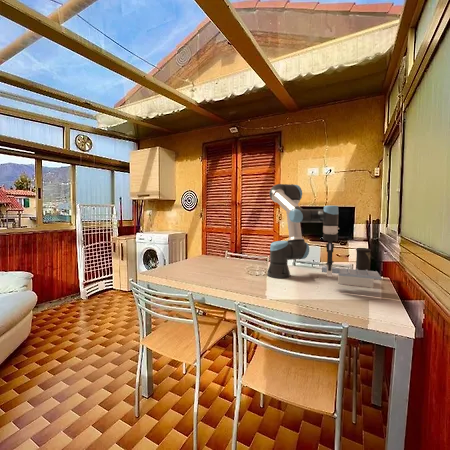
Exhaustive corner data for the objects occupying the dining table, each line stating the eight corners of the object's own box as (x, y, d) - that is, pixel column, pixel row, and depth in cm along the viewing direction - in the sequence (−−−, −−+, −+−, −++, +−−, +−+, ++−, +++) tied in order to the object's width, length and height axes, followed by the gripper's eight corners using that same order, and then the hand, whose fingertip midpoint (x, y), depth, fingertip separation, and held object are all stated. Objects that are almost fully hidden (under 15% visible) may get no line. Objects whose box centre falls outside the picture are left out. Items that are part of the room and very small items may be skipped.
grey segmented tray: (321, 273, 133) (321, 269, 133) (322, 268, 145) (322, 264, 145) (381, 279, 122) (381, 274, 122) (376, 273, 134) (377, 269, 134)
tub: (338, 285, 148) (338, 273, 147) (337, 280, 159) (338, 269, 158) (373, 289, 140) (373, 276, 140) (370, 283, 151) (370, 272, 151)
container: (372, 279, 159) (373, 249, 158) (357, 279, 161) (358, 248, 160) (367, 276, 168) (368, 247, 167) (353, 275, 170) (354, 246, 168)
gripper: (338, 235, 127) (337, 279, 128) (337, 232, 143) (336, 272, 144) (322, 234, 130) (321, 278, 131) (323, 232, 146) (322, 271, 147)
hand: (329, 275), depth 138 cm, fingers closed on grey segmented tray, 4 cm apart
